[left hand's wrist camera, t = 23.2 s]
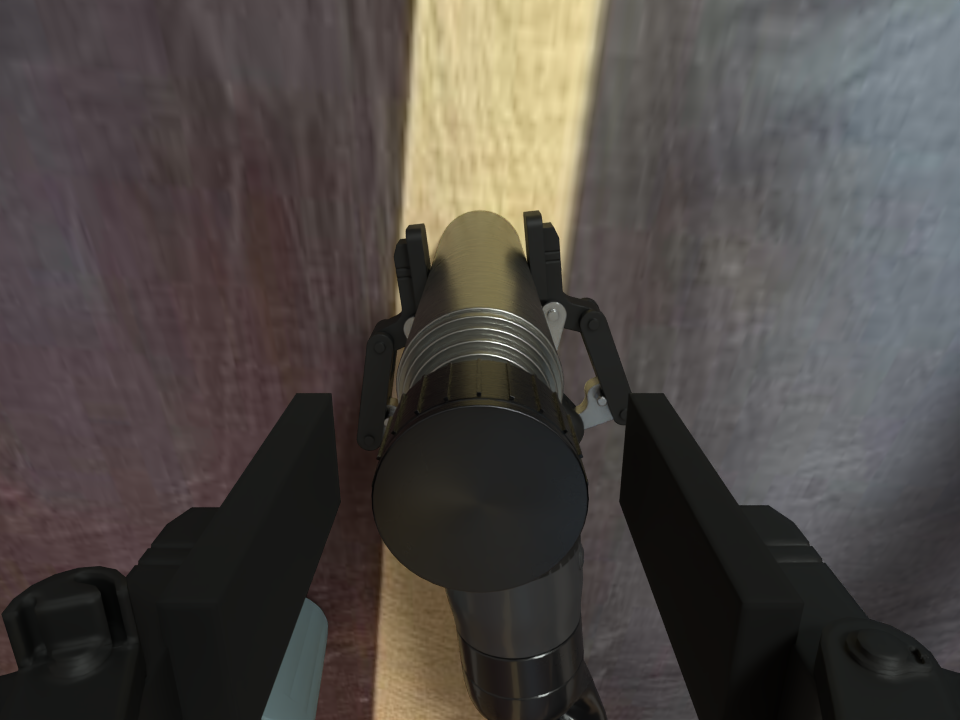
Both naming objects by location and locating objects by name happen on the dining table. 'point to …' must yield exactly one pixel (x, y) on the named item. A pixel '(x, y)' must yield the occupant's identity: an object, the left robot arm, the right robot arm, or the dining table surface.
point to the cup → (300, 669)
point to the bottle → (480, 306)
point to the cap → (480, 478)
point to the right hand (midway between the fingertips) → (474, 221)
